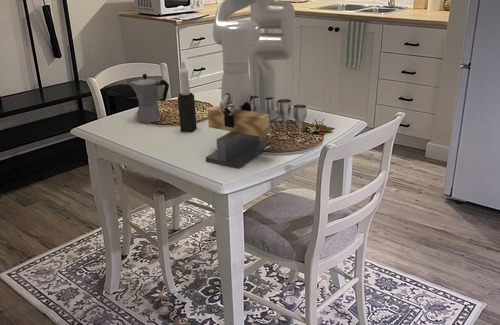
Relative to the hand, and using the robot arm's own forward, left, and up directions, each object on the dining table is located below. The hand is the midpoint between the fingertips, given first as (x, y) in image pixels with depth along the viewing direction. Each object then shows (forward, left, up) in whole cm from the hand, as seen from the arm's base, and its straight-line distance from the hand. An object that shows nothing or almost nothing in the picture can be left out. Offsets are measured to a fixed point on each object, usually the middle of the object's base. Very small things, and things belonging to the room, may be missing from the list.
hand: (238, 122), depth 156 cm
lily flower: (-31, +13, -11) cm, 36 cm away
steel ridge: (0, 0, -11) cm, 11 cm away
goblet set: (-19, 0, -11) cm, 22 cm away
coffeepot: (-14, -49, -11) cm, 52 cm away
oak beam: (0, 0, -3) cm, 3 cm away
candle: (-11, -29, -11) cm, 33 cm away
